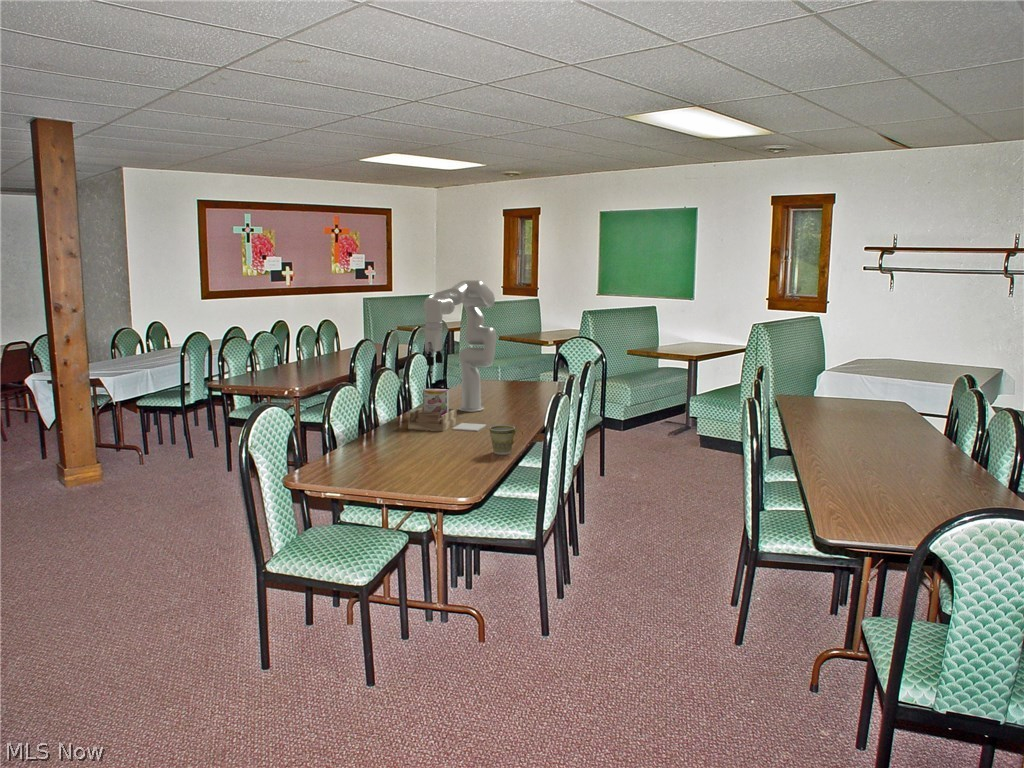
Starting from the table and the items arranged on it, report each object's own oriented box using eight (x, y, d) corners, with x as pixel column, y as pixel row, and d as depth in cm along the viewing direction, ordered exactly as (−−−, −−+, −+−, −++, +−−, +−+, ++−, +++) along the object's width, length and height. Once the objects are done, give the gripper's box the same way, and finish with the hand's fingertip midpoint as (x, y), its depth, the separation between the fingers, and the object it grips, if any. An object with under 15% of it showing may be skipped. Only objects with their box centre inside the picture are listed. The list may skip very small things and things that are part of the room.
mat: (461, 424, 346) (461, 422, 346) (486, 425, 342) (486, 424, 342) (452, 429, 335) (452, 428, 334) (477, 431, 331) (477, 430, 331)
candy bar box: (423, 425, 344) (422, 390, 341) (425, 423, 348) (425, 388, 346) (447, 426, 342) (446, 390, 340) (449, 423, 347) (448, 388, 345)
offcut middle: (421, 422, 342) (421, 416, 341) (444, 423, 338) (443, 418, 338) (416, 424, 337) (416, 419, 336) (439, 426, 333) (439, 420, 333)
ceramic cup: (487, 455, 289) (487, 430, 287) (491, 449, 299) (491, 424, 297) (521, 456, 287) (521, 431, 285) (524, 450, 297) (524, 425, 295)
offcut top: (420, 417, 340) (420, 411, 340) (440, 417, 339) (440, 412, 339) (418, 419, 335) (418, 414, 335) (438, 419, 334) (438, 414, 334)
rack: (423, 421, 352) (423, 407, 351) (457, 423, 347) (456, 408, 346) (408, 429, 336) (407, 413, 335) (442, 431, 331) (442, 415, 330)
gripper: (434, 325, 347) (434, 361, 350) (418, 327, 331) (419, 366, 334) (449, 325, 345) (449, 362, 348) (434, 328, 329) (434, 366, 331)
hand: (434, 364), depth 341 cm, fingers open, 9 cm apart
